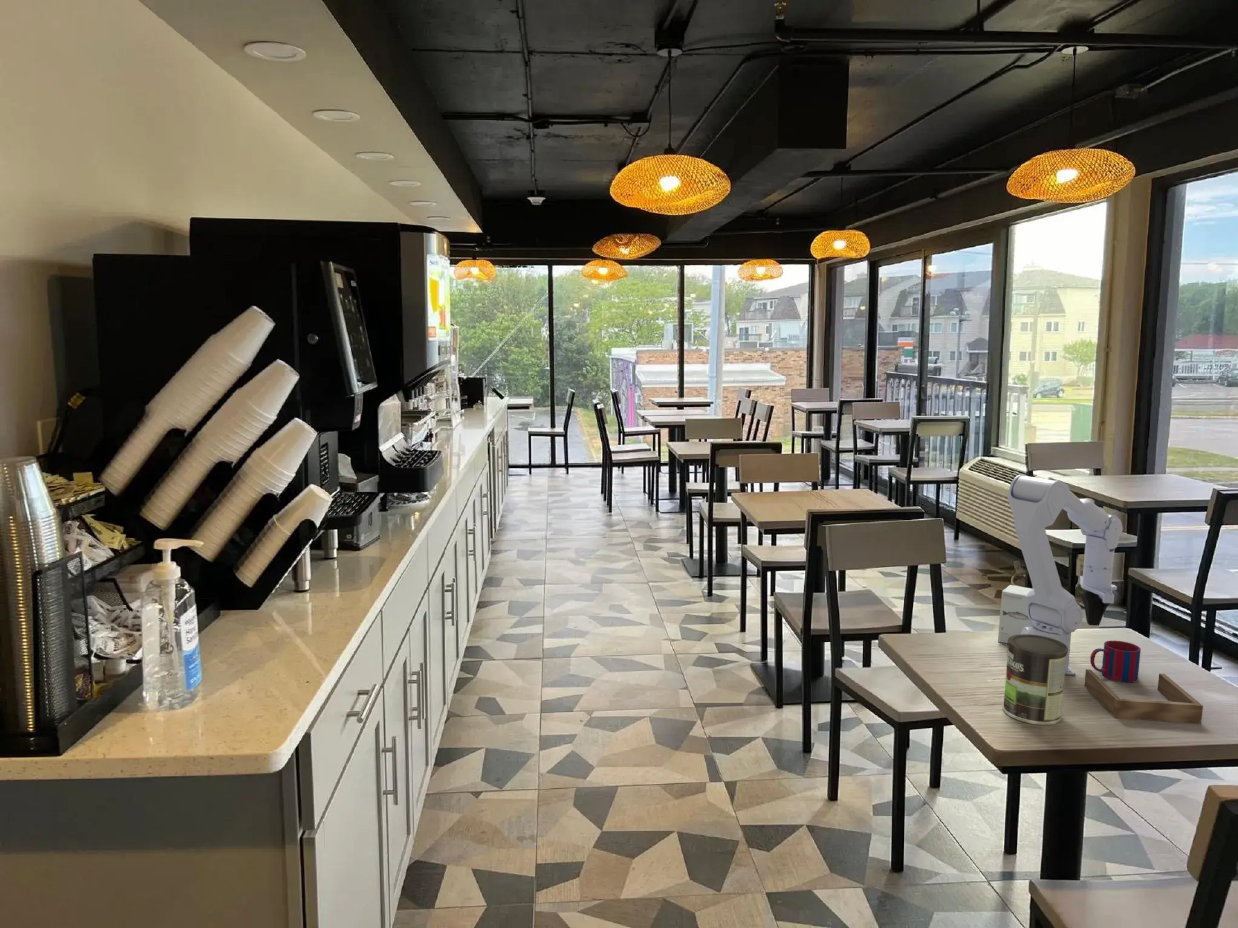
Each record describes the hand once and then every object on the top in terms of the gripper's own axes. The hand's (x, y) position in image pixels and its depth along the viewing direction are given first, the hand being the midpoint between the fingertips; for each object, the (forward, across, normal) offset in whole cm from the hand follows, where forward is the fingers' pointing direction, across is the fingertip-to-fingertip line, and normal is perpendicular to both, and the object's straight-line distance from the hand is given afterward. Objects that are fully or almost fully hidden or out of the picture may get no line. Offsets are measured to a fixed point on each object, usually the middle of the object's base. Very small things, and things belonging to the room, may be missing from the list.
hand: (1093, 624), depth 194 cm
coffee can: (+7, -34, +23) cm, 42 cm away
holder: (+7, -26, 0) cm, 27 cm away
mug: (+8, -12, 0) cm, 14 cm away
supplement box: (+8, +7, +14) cm, 17 cm away
